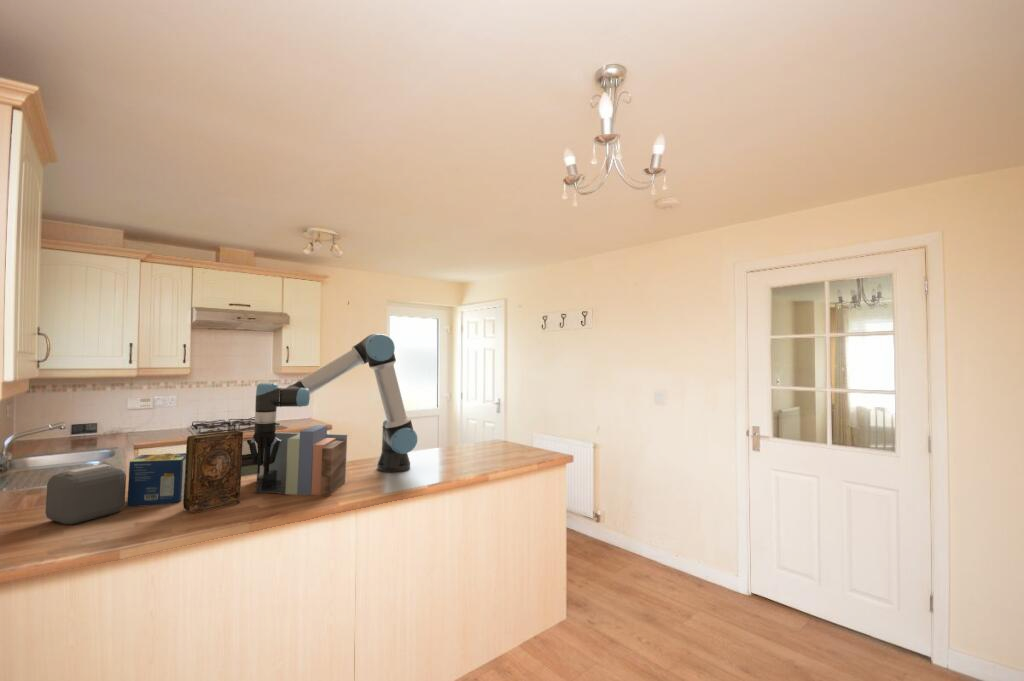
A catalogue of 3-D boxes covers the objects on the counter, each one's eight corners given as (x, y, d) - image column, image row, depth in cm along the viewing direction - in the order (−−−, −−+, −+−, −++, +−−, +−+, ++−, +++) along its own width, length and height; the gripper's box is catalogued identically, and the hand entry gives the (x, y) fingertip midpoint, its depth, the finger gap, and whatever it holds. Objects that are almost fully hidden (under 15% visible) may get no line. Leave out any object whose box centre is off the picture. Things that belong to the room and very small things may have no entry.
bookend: (301, 482, 193) (303, 450, 193) (284, 494, 177) (286, 459, 177) (273, 481, 192) (275, 449, 193) (253, 493, 176) (255, 458, 177)
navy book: (324, 483, 193) (327, 425, 193) (310, 494, 178) (313, 431, 178) (312, 483, 192) (315, 425, 193) (297, 494, 177) (299, 431, 178)
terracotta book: (334, 484, 192) (336, 438, 193) (321, 494, 178) (323, 444, 179) (324, 483, 192) (326, 437, 192) (310, 494, 178) (313, 444, 179)
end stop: (344, 483, 194) (345, 439, 194) (329, 496, 177) (331, 448, 177) (335, 483, 194) (337, 439, 194) (320, 495, 177) (322, 448, 177)
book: (235, 499, 170) (238, 430, 170) (242, 502, 166) (245, 432, 167) (182, 510, 157) (186, 436, 157) (189, 514, 153) (192, 438, 154)
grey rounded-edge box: (107, 506, 158) (109, 460, 158) (128, 512, 154) (130, 464, 154) (44, 522, 143) (47, 471, 143) (66, 528, 139) (69, 476, 139)
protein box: (138, 497, 168) (140, 454, 168) (188, 494, 173) (190, 452, 174) (125, 507, 158) (128, 461, 158) (179, 503, 164) (181, 459, 164)
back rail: (345, 482, 195) (347, 434, 196) (344, 482, 194) (346, 434, 195) (258, 480, 194) (260, 432, 195) (256, 481, 193) (258, 432, 193)
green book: (312, 483, 192) (314, 432, 193) (297, 494, 177) (299, 439, 178) (301, 483, 192) (303, 432, 193) (285, 494, 177) (287, 438, 178)
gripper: (286, 421, 189) (283, 479, 188) (253, 420, 188) (250, 478, 188) (277, 424, 181) (274, 484, 181) (243, 423, 181) (240, 484, 180)
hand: (262, 481), depth 184 cm, fingers closed
